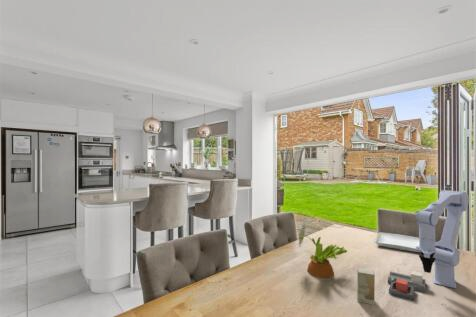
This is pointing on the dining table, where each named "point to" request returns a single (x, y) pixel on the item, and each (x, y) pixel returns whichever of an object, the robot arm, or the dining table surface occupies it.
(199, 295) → the dining table surface
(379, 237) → the square plate
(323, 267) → the decorative plant
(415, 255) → the dining table surface
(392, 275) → the breaker panel
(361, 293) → the skincare box
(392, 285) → the grey square frame
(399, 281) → the red block
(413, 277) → the block
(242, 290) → the dining table surface
